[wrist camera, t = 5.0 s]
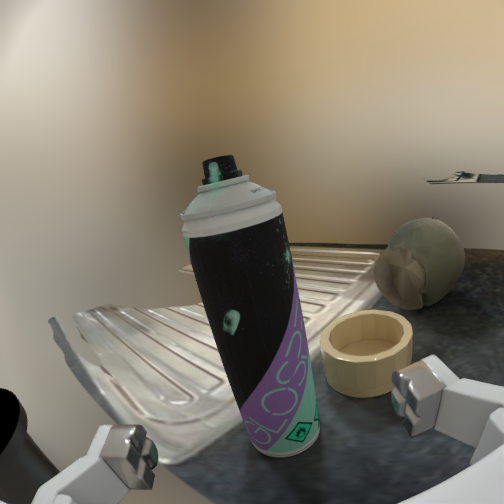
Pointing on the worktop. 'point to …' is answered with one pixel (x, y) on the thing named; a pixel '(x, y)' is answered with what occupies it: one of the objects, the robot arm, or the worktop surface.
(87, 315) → the worktop surface
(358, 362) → the beige base ring
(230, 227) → the spray can
